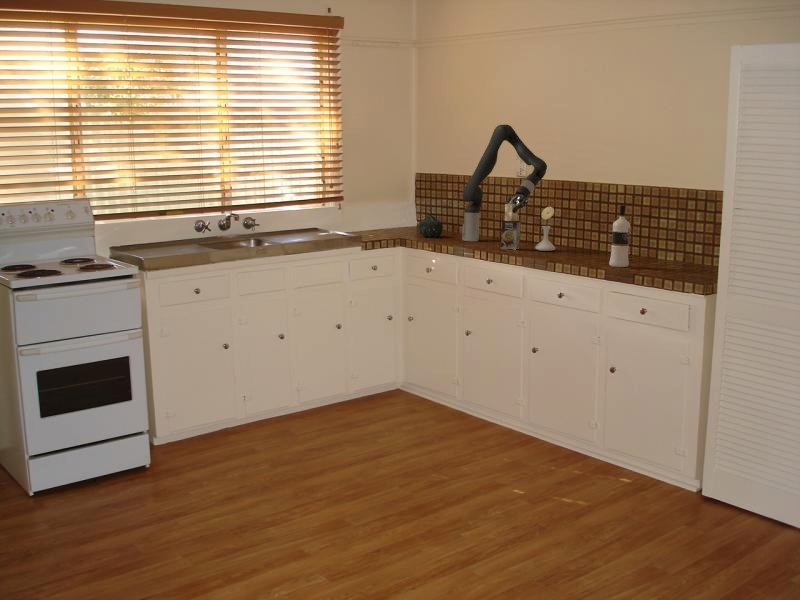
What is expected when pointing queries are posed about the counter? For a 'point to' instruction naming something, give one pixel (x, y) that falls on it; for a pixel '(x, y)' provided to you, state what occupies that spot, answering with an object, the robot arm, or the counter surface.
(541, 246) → the flower in vase
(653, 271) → the counter surface
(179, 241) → the counter surface
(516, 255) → the counter surface
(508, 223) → the coffee box
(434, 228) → the squash
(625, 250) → the vodka
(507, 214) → the maple block
